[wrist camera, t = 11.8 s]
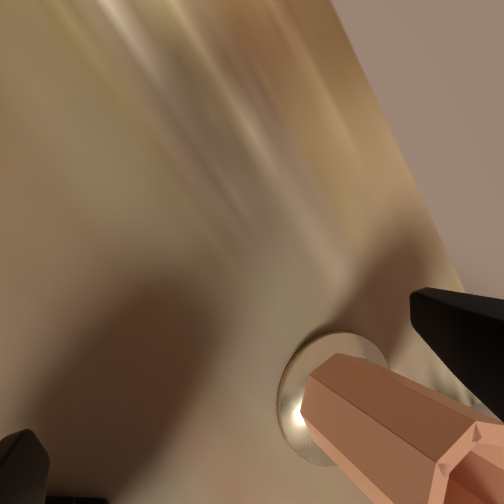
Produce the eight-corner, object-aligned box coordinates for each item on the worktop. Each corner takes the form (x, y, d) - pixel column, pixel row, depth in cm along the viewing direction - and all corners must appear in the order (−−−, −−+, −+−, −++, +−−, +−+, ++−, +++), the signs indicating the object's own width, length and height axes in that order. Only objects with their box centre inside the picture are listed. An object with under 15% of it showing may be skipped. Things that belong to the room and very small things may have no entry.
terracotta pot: (364, 447, 24) (512, 570, 15) (292, 439, 22) (411, 579, 13) (384, 363, 25) (537, 430, 16) (315, 347, 23) (445, 416, 13)
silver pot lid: (368, 463, 25) (419, 509, 21) (260, 455, 22) (294, 507, 18) (395, 343, 26) (450, 362, 22) (296, 318, 23) (336, 335, 19)
